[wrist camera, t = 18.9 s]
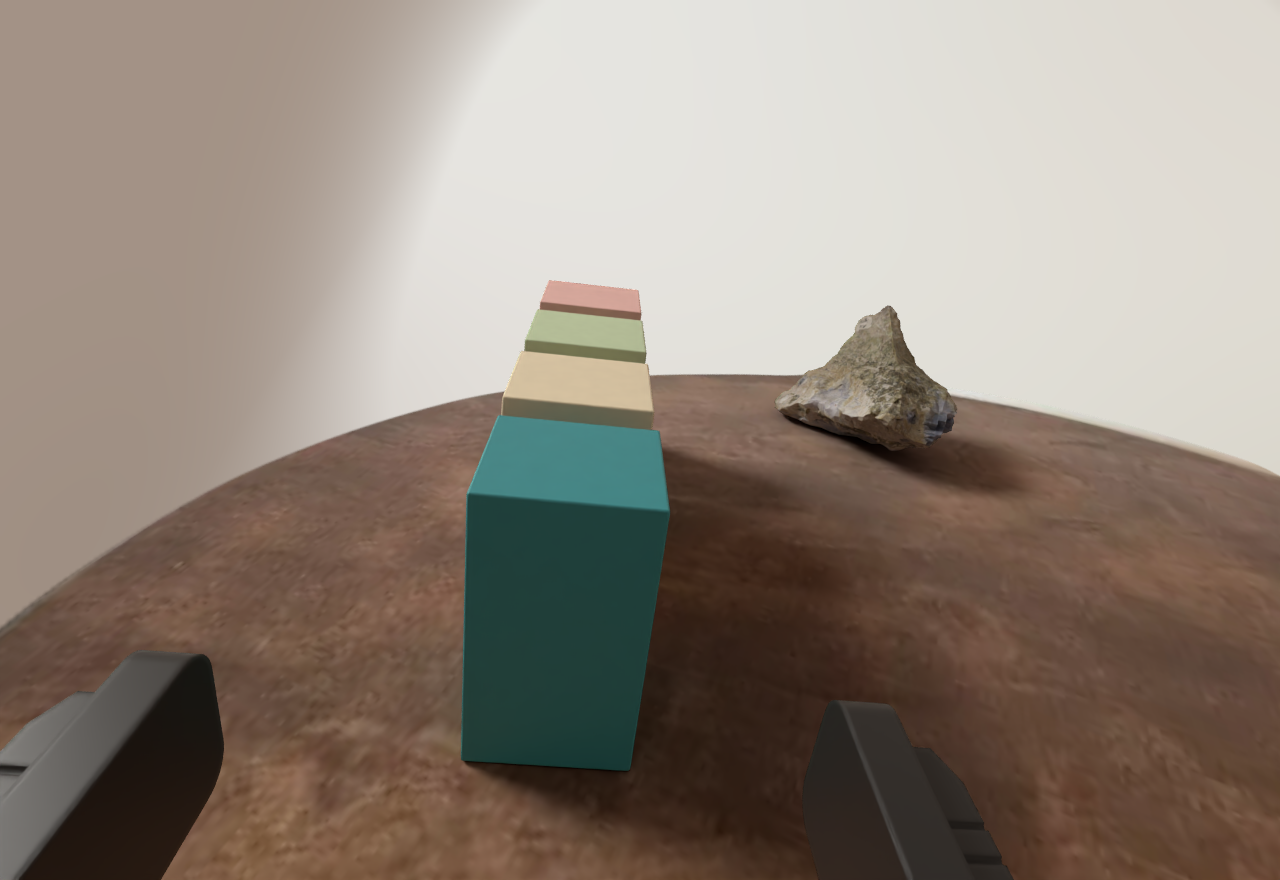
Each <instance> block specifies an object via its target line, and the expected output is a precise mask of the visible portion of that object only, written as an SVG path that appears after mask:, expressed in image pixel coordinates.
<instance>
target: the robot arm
mask: <svg viewBox="0 0 1280 880" xmlns="http://www.w3.org/2000/svg"><path fill="white" fill-rule="evenodd" d="M223 753H224V741H223V734H222V727H221V721H220V715H219V709H218V702H217V696H216V690H215V683H214V677H213V671H212V666H211V662H210V660H209V659H208V657H207V656H205V655H203V654H191V653H176V652H162V651H147V650H139V651H136V652H133V653H132V654H130V655H129V656H128V657H127V658H125V659H124V660H123V661H122V663H121V664H120V665H119V666H118V667H117V668H116V669H115V670H114V672H113V673H112V674H111V675H110V676H109V677H108V678H107V679H106V680H105V682H104V683H103V684H102V685H101V686H100V687H99V688H98V689H97V691H96V692H82V691H77V692H76V693H74V694H73V695H71V696H69V697H68V698H66V699H65V700H63V701H62V702H60V703H59V704H57V705H55V706H54V707H52V708H51V709H49V710H48V711H46V712H45V713H43V714H41V715H40V716H38V717H37V718H35V719H34V720H32V721H30V722H29V723H27V724H26V725H25V726H24V727H23V728H22V729H21V730H20V731H19V733H18V734H17V735H16V736H15V737H14V738H13V739H12V740H11V741H10V742H9V743H8V744H7V745H6V746H5V747H4V748H3V749H2V750H1V751H0V880H161V879H162V877H163V875H164V873H165V872H166V870H167V868H168V867H169V865H170V863H171V862H172V860H173V858H174V857H175V855H176V853H177V851H178V850H179V848H180V846H181V845H182V843H183V841H184V840H185V838H186V836H187V835H188V833H189V831H190V829H191V828H192V826H193V824H194V823H195V821H196V819H197V818H198V816H199V814H200V813H201V811H202V809H203V807H204V806H205V804H206V802H207V801H208V799H209V797H210V795H211V793H212V791H213V789H214V787H215V785H216V782H217V779H218V776H219V773H220V769H221V765H222V760H223ZM803 817H804V824H805V829H806V833H807V837H808V841H809V845H810V848H811V852H812V856H813V859H814V863H815V867H816V871H817V874H818V878H819V880H1014V879H1013V877H1012V876H1011V874H1010V872H1009V870H1008V868H1007V866H1004V865H1003V864H1002V861H1001V857H1002V856H1001V854H1000V853H999V851H998V849H997V847H996V845H995V843H994V841H993V839H992V837H991V835H990V833H989V831H985V830H984V822H983V820H982V818H981V816H980V814H979V812H978V810H977V809H976V807H975V805H974V803H973V801H972V799H971V797H970V795H969V793H968V791H967V789H966V787H965V786H964V784H963V782H962V781H961V780H960V779H959V778H958V777H957V776H956V775H955V774H954V773H953V772H952V771H951V770H950V769H949V767H948V766H947V765H946V764H945V763H944V762H943V761H942V760H941V759H940V758H939V757H938V756H937V755H936V754H935V753H934V752H933V751H932V749H931V748H918V747H912V745H911V743H910V741H909V739H908V736H907V734H906V732H905V730H904V728H903V726H902V724H901V722H900V720H899V717H898V715H897V714H896V712H895V710H894V709H893V708H892V707H891V706H890V705H888V704H884V703H870V702H855V701H841V700H832V701H831V702H830V703H829V704H828V706H827V708H826V710H825V713H824V716H823V720H822V723H821V726H820V730H819V733H818V736H817V740H816V743H815V746H814V750H813V753H812V756H811V759H810V763H809V766H808V769H807V773H806V776H805V780H804V786H803Z"/></svg>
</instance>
